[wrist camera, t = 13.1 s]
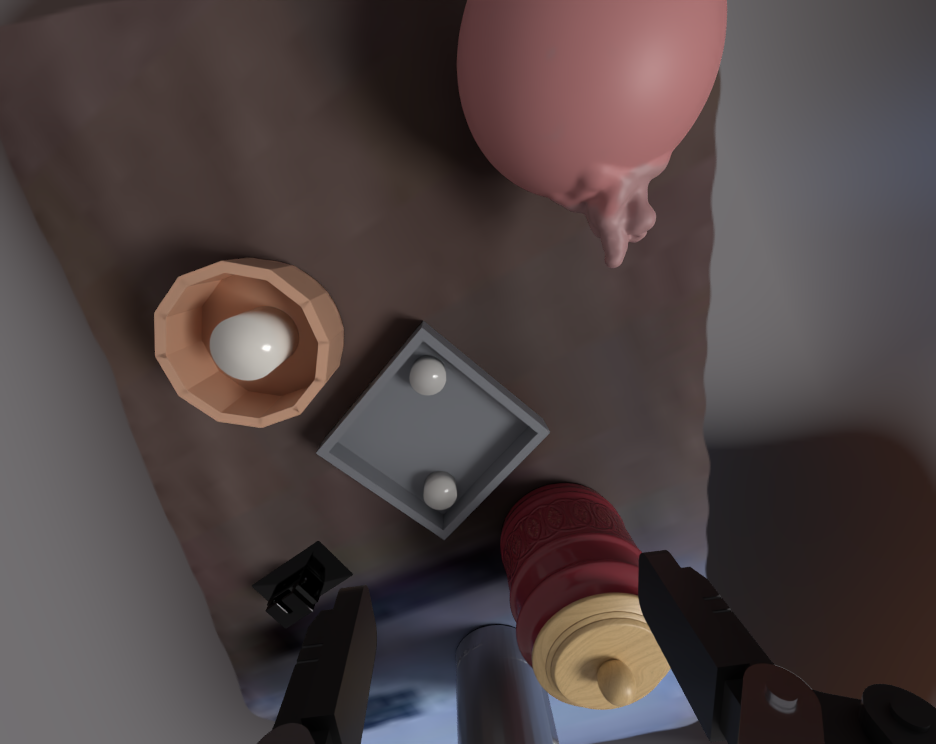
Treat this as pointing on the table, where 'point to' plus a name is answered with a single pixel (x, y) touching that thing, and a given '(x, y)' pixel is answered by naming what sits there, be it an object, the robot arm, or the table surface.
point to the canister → (579, 598)
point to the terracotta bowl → (226, 295)
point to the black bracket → (301, 583)
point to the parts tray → (433, 433)
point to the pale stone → (254, 342)
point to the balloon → (588, 98)
